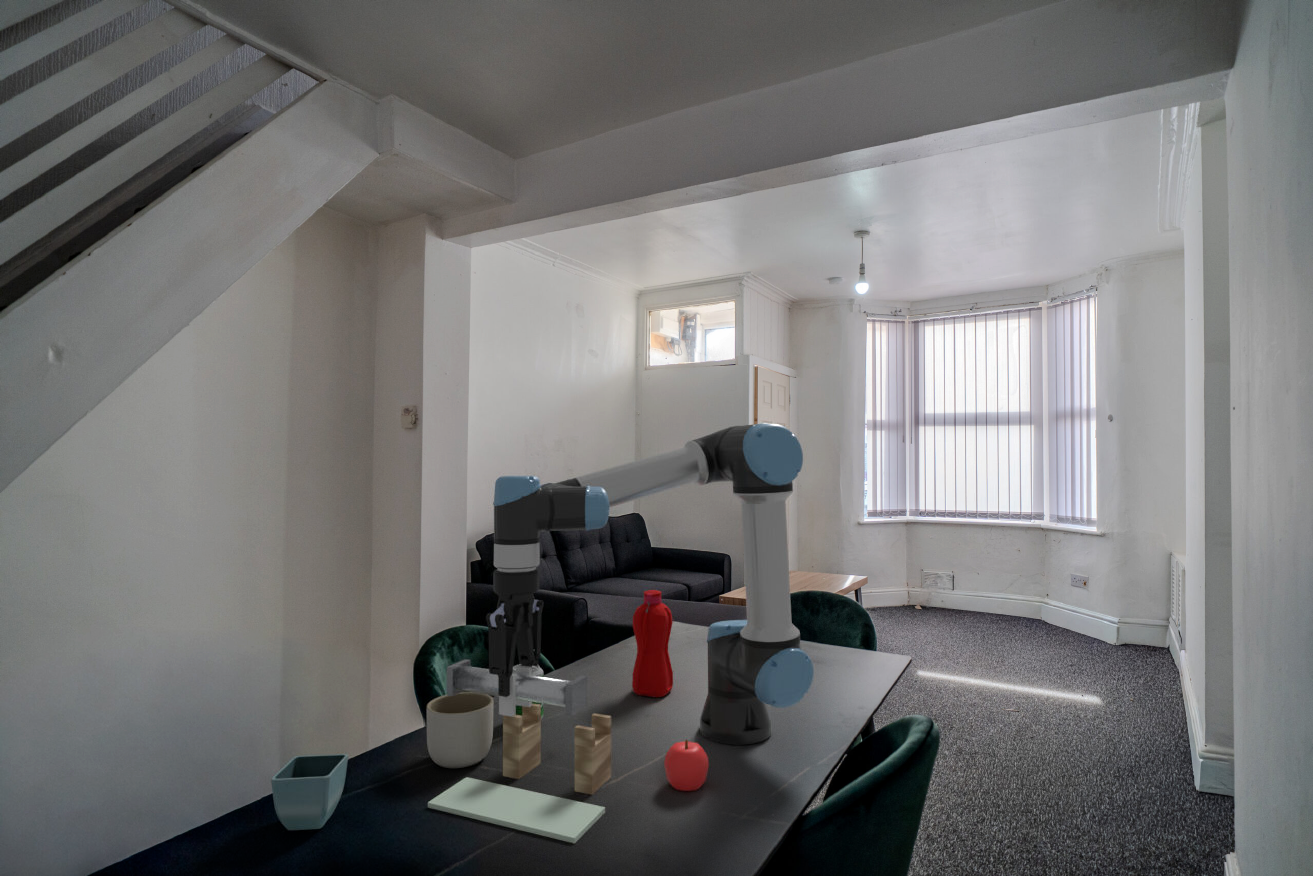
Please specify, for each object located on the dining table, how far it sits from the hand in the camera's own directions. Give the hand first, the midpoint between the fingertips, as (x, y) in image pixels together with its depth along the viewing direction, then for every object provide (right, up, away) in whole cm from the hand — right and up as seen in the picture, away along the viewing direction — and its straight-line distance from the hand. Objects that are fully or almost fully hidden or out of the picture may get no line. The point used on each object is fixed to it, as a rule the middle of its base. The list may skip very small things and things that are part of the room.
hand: (515, 709), depth 115 cm
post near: (+12, -17, +9) cm, 22 cm away
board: (0, -16, 0) cm, 16 cm away
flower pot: (-32, -17, -4) cm, 36 cm away
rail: (0, +2, 0) cm, 2 cm away
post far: (-2, -17, +14) cm, 22 cm away
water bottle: (+22, -18, +56) cm, 63 cm away
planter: (-14, -17, +19) cm, 29 cm away
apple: (+29, -17, +8) cm, 34 cm away
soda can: (-5, -18, +38) cm, 42 cm away
